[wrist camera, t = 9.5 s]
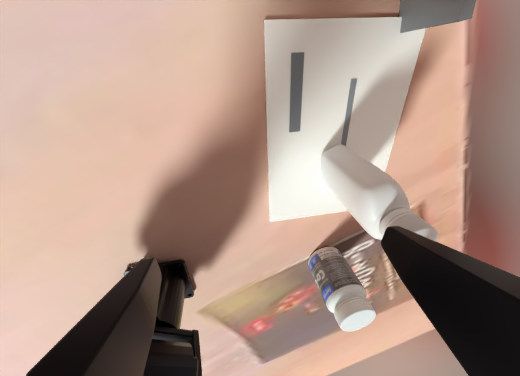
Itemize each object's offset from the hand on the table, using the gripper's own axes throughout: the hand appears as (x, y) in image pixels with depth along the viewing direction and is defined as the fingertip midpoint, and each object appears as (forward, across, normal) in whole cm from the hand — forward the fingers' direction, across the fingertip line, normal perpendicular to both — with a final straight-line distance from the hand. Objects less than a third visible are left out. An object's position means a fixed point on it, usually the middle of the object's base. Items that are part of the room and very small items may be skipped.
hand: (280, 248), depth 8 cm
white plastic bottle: (+13, -10, +3) cm, 16 cm away
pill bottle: (+13, -10, +16) cm, 23 cm away
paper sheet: (+13, -9, 0) cm, 15 cm away
